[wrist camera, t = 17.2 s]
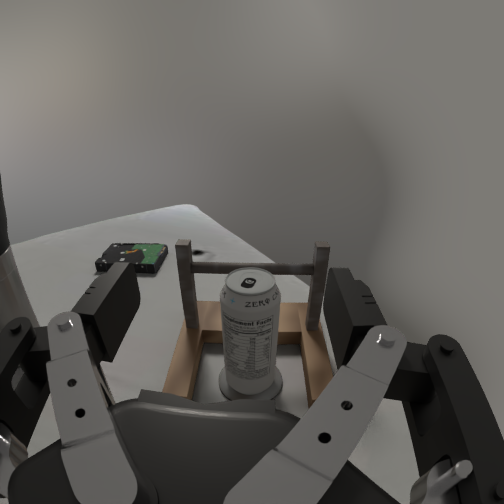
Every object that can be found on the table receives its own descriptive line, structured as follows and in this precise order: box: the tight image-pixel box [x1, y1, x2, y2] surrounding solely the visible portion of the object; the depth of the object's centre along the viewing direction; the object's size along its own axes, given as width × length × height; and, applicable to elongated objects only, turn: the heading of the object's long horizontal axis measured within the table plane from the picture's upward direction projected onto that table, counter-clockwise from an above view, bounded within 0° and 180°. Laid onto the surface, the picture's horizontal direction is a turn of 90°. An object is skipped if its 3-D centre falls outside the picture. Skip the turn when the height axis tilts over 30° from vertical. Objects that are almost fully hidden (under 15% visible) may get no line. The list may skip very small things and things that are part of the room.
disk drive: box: [95, 243, 168, 273], centre depth 64 cm, size 10×3×15 cm
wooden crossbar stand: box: [162, 240, 333, 408], centre depth 36 cm, size 20×19×16 cm
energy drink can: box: [220, 267, 281, 395], centre depth 32 cm, size 6×6×15 cm
